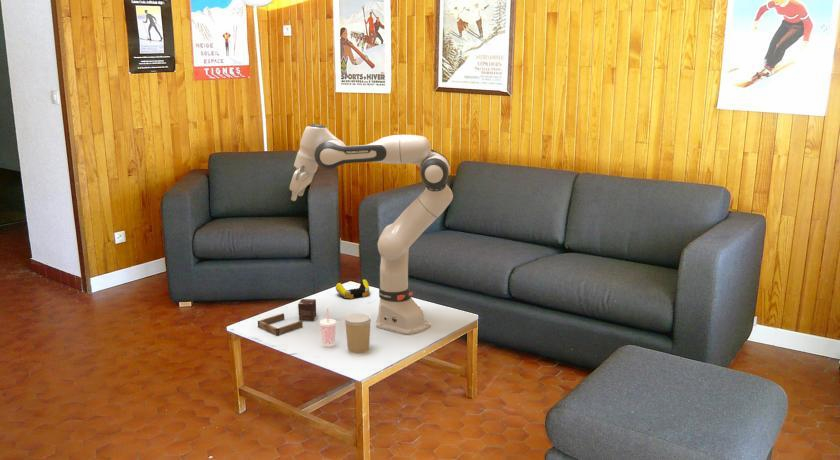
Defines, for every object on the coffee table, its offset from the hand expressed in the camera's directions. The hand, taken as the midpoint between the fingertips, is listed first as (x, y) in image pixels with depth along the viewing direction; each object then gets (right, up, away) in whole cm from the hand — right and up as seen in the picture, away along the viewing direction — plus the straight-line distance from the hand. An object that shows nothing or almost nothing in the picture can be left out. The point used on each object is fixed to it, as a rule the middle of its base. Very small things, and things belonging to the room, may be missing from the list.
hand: (296, 197), depth 285 cm
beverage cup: (+14, -55, -13) cm, 58 cm away
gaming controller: (+19, -42, +41) cm, 61 cm away
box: (+2, -49, +13) cm, 50 cm away
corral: (-7, -51, +4) cm, 51 cm away
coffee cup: (+25, -56, -17) cm, 64 cm away
